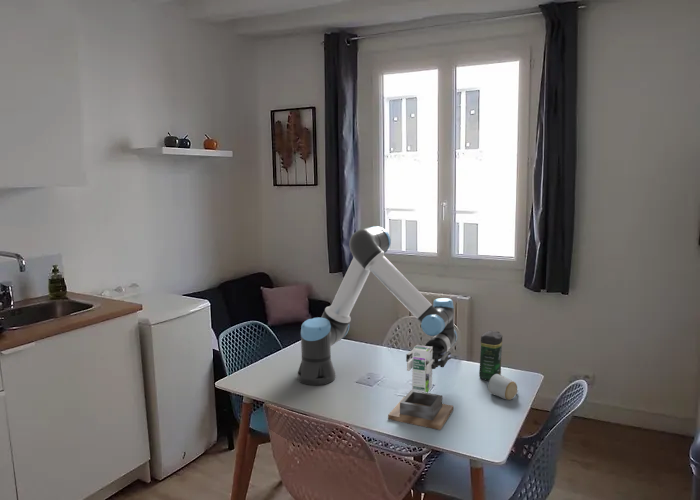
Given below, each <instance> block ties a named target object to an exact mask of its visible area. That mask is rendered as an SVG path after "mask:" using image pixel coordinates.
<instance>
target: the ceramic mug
mask: <svg viewBox="0 0 700 500" xmlns="http://www.w3.org/2000/svg"><path fill="white" fill-rule="evenodd" d="M487 387H488V389H487V390H488V392H489V393H490V394H491V395H494V396H495V397H499V398H502V399H503V400H507V401H509V400H512V399H514V398H515V397H516V395H518V392H519V390H518V385H517V383H516V382H515V381H514V380H512V379H511V378H508V377H505V376H503V375H502V374H501V375H499V374H495V375H493V376H492V377H491V379H490V381H488V385H487Z"/></svg>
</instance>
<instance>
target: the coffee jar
mask: <svg viewBox="0 0 700 500" xmlns="http://www.w3.org/2000/svg"><path fill="white" fill-rule="evenodd" d="M502 351H503V334H502V333H501V332H500V331H497V330H488V331H485V332H484V333H482V335H481V336H480V353H479V354H480V356H479V372H478V377H479V378H480V379H482V380H484V381H488V382H489V381H490V379H491V377H492V376H493V375H495V374H499V375H502Z"/></svg>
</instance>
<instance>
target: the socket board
mask: <svg viewBox="0 0 700 500" xmlns="http://www.w3.org/2000/svg"><path fill="white" fill-rule="evenodd" d="M453 411H454V405H452V404H446V403H443V395H441V394H437V393H431V392H428V393H427V392H421V391H413V390H412V389H410V390H409V392H408V393H406V395H404V396H403V397H402V398H401V400H399V402H398V403H397V404H396V405H395V406H394V407H393V409H392V410H391V411H390V412H389V413H388V416H387V419H388V420H390V419H391V421H396V422H401V423H405V424H411V425H415V426H419V427H420V426H421V427H425V428H428V429H429V428H430V429H434V430H439V431H440V430H442V428H443V427H444V426H445V424H446V422H447V421H448V419H449V418H450V415H452V413H453Z"/></svg>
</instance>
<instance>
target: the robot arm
mask: <svg viewBox="0 0 700 500" xmlns="http://www.w3.org/2000/svg"><path fill="white" fill-rule="evenodd" d="M391 241H392V239H391V235H390V234H389V232H388V231H387V229H385V228H384V227H382V226H379V225H372V226H368V227H365V228H361V229H359V230H357V231H355V232H354V233H353V234H352V235H351V237H350V239H349V243H348V244H349V252H350V253H351V256H352V257H353V258H352V260H351V261H350V265H349V266H348V268H347V271H346V272H345V275H344V277H343V279H342V281H341V283H340V285H339V287H338V290H337V292H336V294H335V296H334V298H333V299H332V303H331V304H330V305H329V306H326V307H325V308H324V311H323V313H322V315H321V317H318V316H317V317H313V318H308V319H306V320H304V322H302V324H301V327H300V328H301V329H300V341H301V342H300V343H301V344H300V346H301V348H300V349H301V351H300V352H301V361H300V364H299V367H298V371H297V381H298V382H300V383H301V384H303V385H308V386H321V385H326V384H329V383H332V382H333V381H335V379H336V371H335V367H334V364H333V362H332V356H331V349H332V348H331V347H332V346H334V344H336V343H337V342H339V341H341V340H342V339H344V338H345V337H346V335H347V334H348V332H349V330H350V322H351V321H352V318H351V316H350V314H351V313H352V310H353V308H354V306H355V305H356V302H357V300H358V298H359V296H360V294H361V292H362V291H363V290H362V289H363V288H364V286H365V283H366V282H367V280H368V277H369V275H370V274H371V273H372V274H373V275H374V276H375V277H376V279H378V280H379V282H381V283H382V284H383V286H385V288H386V289H387V290H388V291H389V293H391V294H392V295H393V296H394V297H395V299H397V301H399V302H400V303H401V304H402V305H403V306H404V307H405V308H406V309H407V310H408V311H409V312H410V313H411V314H412V316H413V317H415V318H416V320H418V321H419V323H420V327H421V329H422V332H423V333H424V334H425V335H427V336H430V337H431V338H430V339H429V340H428V341H426V343H425V345H424V346H433V353H432V360H431V361H430V362H429V363H428V364H427V366H426V374H429V373H430V372H431V370H432V371H433V370H435V369H436V368H439V367H440V368H444V367H445V366H446V364H447V362H448V361H449V360H451V359H452V352H451V351H450V350H451V348H452V347H453V346H455V343H456V342H457V340H458V333H457V331H456V330H455V317H454V316H455V313H454V312H455V311H454V309H455V307H454V301H453V300H452V299H451V298H447V297H440V298H439V297H438V298H436V299H434V300H433V304H432V303H431V302H430V301H429V300H428V299H427V298H426V297H425V295H423V293H421V292H420V290H419V289H418V288H417V287H415V285H413V284H412V282H410V281H409V280H408V279H407V278H406V276H405V275H403V273H402V272H400V271H399V269H397V268H396V266H395V265H394V264H393V263H392V262H391V261H390V260H389V259H388V258H387V257H386V256H385V253H387V251H388V250H389V249H390V246H391V244H392V243H391ZM405 357H406V359H405V362H406V371H408V372H410V371H412V370H411V369H412V350H410V351H409V352H408V353H406V354H405Z"/></svg>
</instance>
